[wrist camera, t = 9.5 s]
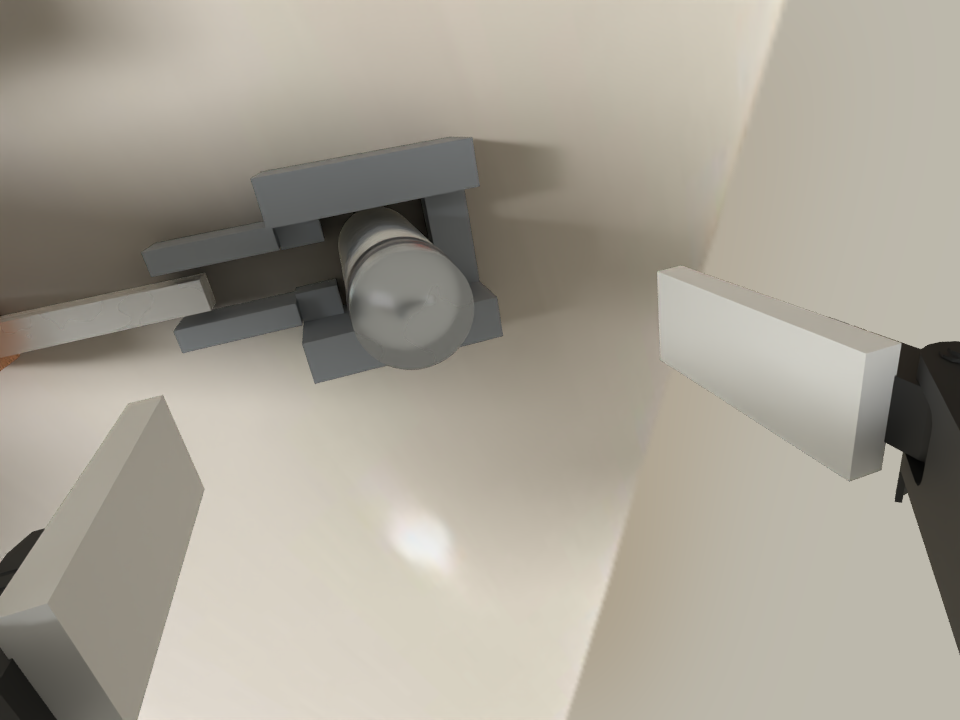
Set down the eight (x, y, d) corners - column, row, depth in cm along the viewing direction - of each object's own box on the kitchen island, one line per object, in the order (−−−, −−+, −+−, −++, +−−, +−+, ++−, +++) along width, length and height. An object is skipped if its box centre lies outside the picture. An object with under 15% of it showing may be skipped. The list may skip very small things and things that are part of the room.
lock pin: (-46, 370, 28) (-130, 426, 23) (-79, 314, 27) (-177, 359, 22) (222, 310, 31) (202, 347, 25) (203, 256, 29) (177, 283, 24)
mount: (208, 375, 32) (190, 415, 27) (136, 194, 28) (101, 206, 23) (479, 309, 35) (503, 336, 30) (449, 136, 31) (472, 137, 26)
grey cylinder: (348, 293, 32) (366, 384, 21) (327, 214, 30) (334, 264, 19) (425, 276, 33) (484, 354, 21) (409, 198, 31) (464, 236, 20)
